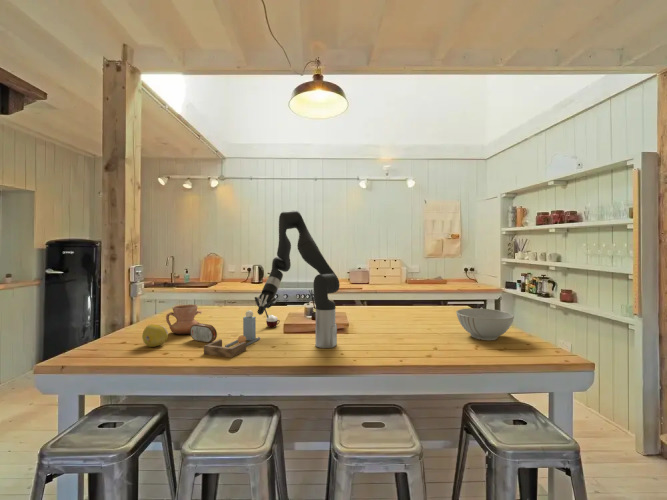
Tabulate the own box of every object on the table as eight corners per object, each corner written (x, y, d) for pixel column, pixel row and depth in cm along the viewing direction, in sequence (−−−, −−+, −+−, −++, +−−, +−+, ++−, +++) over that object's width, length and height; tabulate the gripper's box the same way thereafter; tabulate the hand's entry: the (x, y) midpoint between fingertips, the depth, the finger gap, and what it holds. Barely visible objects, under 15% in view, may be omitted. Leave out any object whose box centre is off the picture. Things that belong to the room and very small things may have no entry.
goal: (245, 350, 156) (245, 342, 156) (231, 357, 146) (231, 349, 146) (219, 346, 160) (219, 339, 160) (203, 353, 150) (203, 345, 150)
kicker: (255, 339, 172) (255, 309, 172) (251, 341, 169) (251, 311, 168) (247, 338, 174) (246, 309, 173) (242, 340, 170) (242, 310, 170)
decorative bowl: (454, 341, 171) (454, 316, 170) (457, 328, 195) (457, 306, 195) (516, 347, 160) (516, 321, 160) (511, 333, 185) (511, 310, 185)
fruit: (162, 348, 157) (162, 326, 157) (137, 349, 156) (137, 327, 156) (171, 342, 167) (171, 321, 167) (148, 342, 167) (148, 321, 166)
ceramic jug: (205, 328, 193) (205, 303, 193) (199, 335, 179) (198, 307, 179) (171, 330, 191) (170, 304, 191) (162, 337, 176) (161, 309, 176)
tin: (217, 342, 167) (217, 325, 167) (212, 344, 164) (212, 326, 164) (194, 338, 174) (193, 321, 173) (189, 340, 171) (188, 323, 170)
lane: (259, 339, 173) (259, 337, 173) (240, 349, 157) (240, 347, 157) (245, 337, 175) (245, 335, 175) (224, 347, 159) (224, 345, 159)
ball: (247, 343, 166) (247, 334, 166) (243, 345, 162) (243, 336, 162) (240, 342, 167) (240, 334, 167) (235, 344, 164) (235, 336, 164)
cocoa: (279, 325, 202) (280, 305, 202) (279, 328, 196) (280, 306, 196) (262, 325, 201) (263, 304, 201) (261, 327, 194) (262, 306, 195)
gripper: (258, 282, 191) (245, 308, 179) (279, 283, 186) (268, 310, 175) (263, 290, 196) (251, 316, 184) (284, 291, 191) (273, 318, 180)
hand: (259, 313), depth 180 cm, fingers closed
